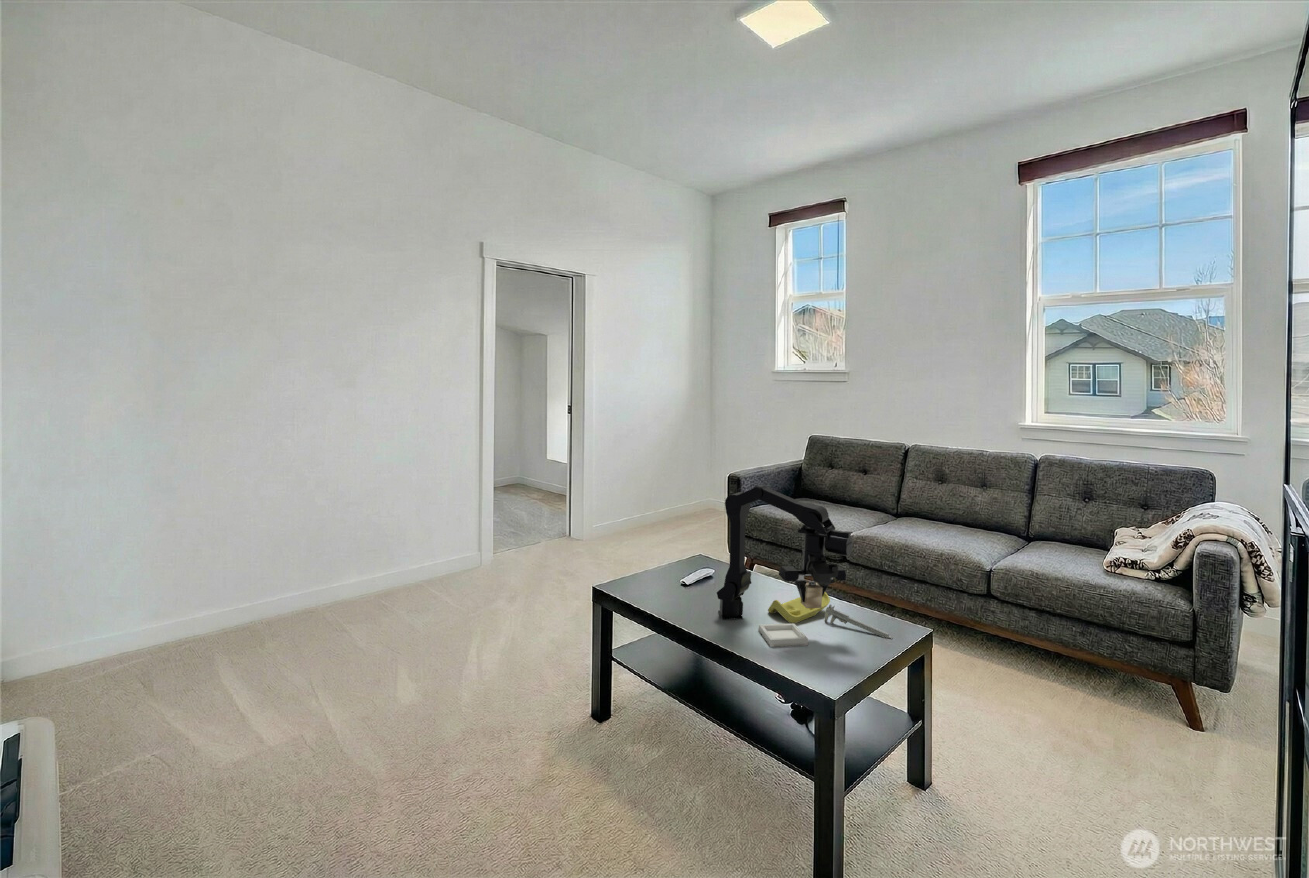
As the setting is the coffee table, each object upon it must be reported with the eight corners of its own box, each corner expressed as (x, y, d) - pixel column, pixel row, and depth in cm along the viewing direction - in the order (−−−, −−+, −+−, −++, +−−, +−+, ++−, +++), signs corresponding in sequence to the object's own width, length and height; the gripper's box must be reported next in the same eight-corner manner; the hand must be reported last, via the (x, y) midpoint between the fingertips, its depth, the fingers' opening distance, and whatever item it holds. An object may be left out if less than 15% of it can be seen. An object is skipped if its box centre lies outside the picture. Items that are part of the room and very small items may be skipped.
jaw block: (806, 608, 172) (807, 584, 172) (800, 602, 177) (802, 579, 176) (821, 608, 173) (822, 584, 172) (815, 602, 177) (816, 579, 177)
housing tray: (770, 646, 168) (770, 639, 168) (758, 631, 179) (758, 624, 179) (807, 645, 170) (808, 638, 169) (793, 629, 180) (794, 623, 180)
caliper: (824, 623, 187) (825, 603, 186) (825, 622, 188) (826, 602, 187) (891, 640, 175) (893, 619, 174) (892, 639, 176) (894, 618, 175)
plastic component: (794, 618, 184) (772, 596, 190) (786, 635, 187) (765, 613, 194) (835, 602, 195) (814, 581, 202) (828, 618, 198) (806, 597, 205)
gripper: (793, 558, 164) (790, 613, 165) (857, 557, 167) (853, 611, 168) (779, 546, 175) (776, 598, 176) (839, 546, 178) (836, 597, 179)
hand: (810, 601), depth 175 cm, fingers closed on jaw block, 4 cm apart
